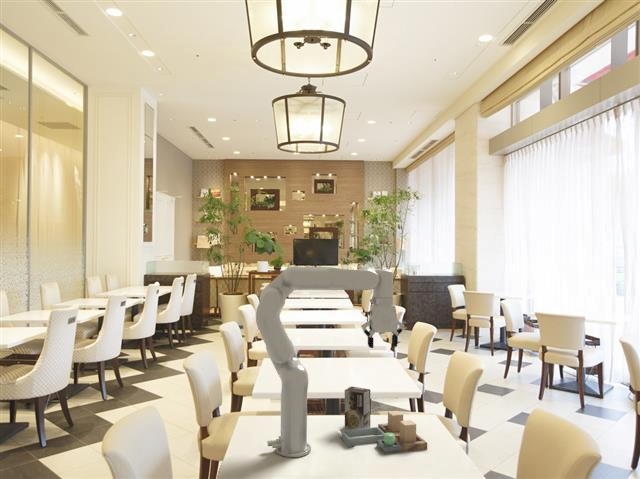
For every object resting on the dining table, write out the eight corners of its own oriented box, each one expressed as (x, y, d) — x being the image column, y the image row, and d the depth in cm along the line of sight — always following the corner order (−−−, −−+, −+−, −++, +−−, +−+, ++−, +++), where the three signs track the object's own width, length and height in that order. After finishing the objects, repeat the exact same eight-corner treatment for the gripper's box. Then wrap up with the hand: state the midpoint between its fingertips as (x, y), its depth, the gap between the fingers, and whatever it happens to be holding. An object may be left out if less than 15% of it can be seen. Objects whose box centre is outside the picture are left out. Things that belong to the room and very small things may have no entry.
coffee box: (371, 429, 199) (371, 389, 199) (363, 433, 194) (364, 393, 194) (351, 424, 204) (351, 385, 204) (343, 429, 198) (344, 389, 199)
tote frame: (348, 447, 180) (348, 439, 180) (341, 438, 189) (341, 430, 189) (386, 443, 185) (386, 435, 185) (377, 434, 193) (377, 426, 193)
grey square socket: (384, 456, 173) (384, 447, 173) (376, 448, 180) (376, 440, 180) (402, 453, 175) (402, 445, 175) (394, 446, 181) (394, 438, 182)
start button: (386, 451, 175) (386, 437, 175) (381, 447, 179) (382, 433, 179) (396, 450, 176) (396, 436, 176) (391, 445, 180) (392, 432, 180)
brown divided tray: (402, 453, 175) (402, 445, 175) (378, 431, 196) (378, 424, 196) (427, 451, 178) (427, 442, 178) (400, 429, 199) (400, 422, 199)
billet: (405, 447, 179) (405, 425, 179) (399, 442, 183) (399, 421, 183) (416, 446, 180) (416, 424, 180) (410, 441, 184) (410, 420, 184)
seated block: (392, 436, 189) (392, 415, 189) (387, 432, 194) (387, 411, 194) (403, 435, 190) (403, 414, 191) (398, 431, 195) (398, 410, 195)
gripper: (365, 303, 180) (365, 349, 179) (408, 302, 184) (407, 347, 184) (358, 301, 187) (358, 346, 186) (399, 300, 192) (399, 344, 191)
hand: (382, 346), depth 185 cm, fingers open, 9 cm apart
